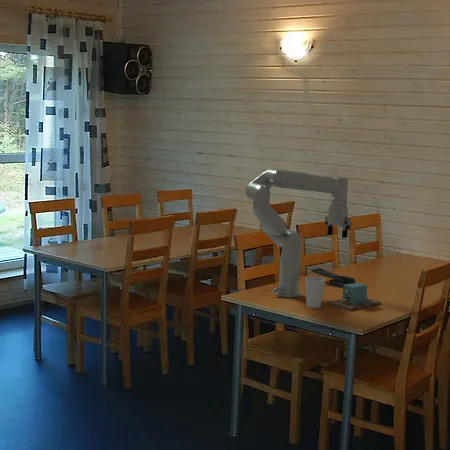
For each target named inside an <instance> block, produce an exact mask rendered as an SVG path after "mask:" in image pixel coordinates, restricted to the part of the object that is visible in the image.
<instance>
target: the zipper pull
mask: <svg viewBox="0 0 450 450" xmlns="http://www.w3.org/2000/svg"><path fill="white" fill-rule="evenodd" d="M311 273H314V274H317V275H320V276H323V277H327V278H329V280H328V286H331V287H336V288H339V289H343V285H347V284H352V283H357V282H356V279H355V278H354V277H351V276H347V275H346V276H344V275H339V274H336V273H333V272H330V271H328V270H326V269H323V268H320V267H317V268H313V269H311Z"/></svg>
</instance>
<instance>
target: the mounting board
mask: <svg viewBox="0 0 450 450" xmlns="http://www.w3.org/2000/svg"><path fill="white" fill-rule="evenodd" d="M342 299H343V298H339V299H338V298H337V299H335V300H329V301H326V303H327V305H329V306H333V307H336V308H339V309H343V310H346V311H349V312H352V311H354V310H355V311H356V310H361V309H365V308H370V307H375V306H380V305H382V301H380V300H376V299H373V298H369V297H367V299H366V302H362V303H357V304H349V303H350V298H348V299H343V300H342Z"/></svg>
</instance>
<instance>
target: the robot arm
mask: <svg viewBox="0 0 450 450" xmlns="http://www.w3.org/2000/svg"><path fill="white" fill-rule="evenodd" d="M272 187H274V188H279V189H289V190H295V191H296V190H297V191H305V192H317V193H324V194H325V193H327V194H331V198H330V203H331V204H329V206H328V212H327V216H325V217H324V222H325V225H326V228H327V236H333V234H334V232H333V231H334V227H333V226H338V227H339V226H340V227H341V228H342V233H341V238H342V239H347V238H348V234H349V233H348V231H349V230H350V228H351V227H352V224H353V221H352V220H351V219H350V218H349V209H348V208H349V207H348V193H349V192H348V191H349V190H348V189H349V179H348V178H347V177H346V176H334V177H333V176H332V177H331V176H325V175H324V176H319V175H315V174H311V173H306V172H302V171H299V172H298V171H292V170H285V169H278V168H269V169H267V170H264V172H262V173H261V174H260V175H259V176H258V177H256V178H255V179H253V180H252V181H251V182H249V183H248V185H247V186H246V187H245V195H246V197H247V198H248V199H250V200H251V201H252V211H253V215H255V217H256V219H258V221H259V222H260V223H259V224H260V229H261V230H262V231H263V232H264V233H265V235H266V236H267V237H269V239H270V240H272V242H273V243H275V244H276V246H277V247H280V248H282V250H281V253H280V259H279V263H280V264H279V281H278V283H279V284H278V285H277V287H274V288H271V292H272V293H273V294H274V293H275V294H276V296H278V297H282V298H298V297H301V296H302V291H299V286H300V285H299V284H300V267H301V266H300V265H301V253H302V247H303V237H302V235H300V233H298V231H295V230H291V229H289V228H288V225H287V223H286V221H285V219H284V218H283V217H281V215H279V213H278V212H277V211H275V209H274V208H273V207H272V205H271V204H270V203H271V202H270V199H271V190H270V189H272Z"/></svg>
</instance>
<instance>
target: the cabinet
mask: <svg viewBox="0 0 450 450" xmlns="http://www.w3.org/2000/svg"><path fill="white" fill-rule="evenodd" d="M348 298H350V303H349V304H357V303H362V302H366V299H367V298H368V284H364V283H360V282H356V283H352V284H347V285H343V288H342V298H341V299H342V300H343V299H348Z"/></svg>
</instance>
